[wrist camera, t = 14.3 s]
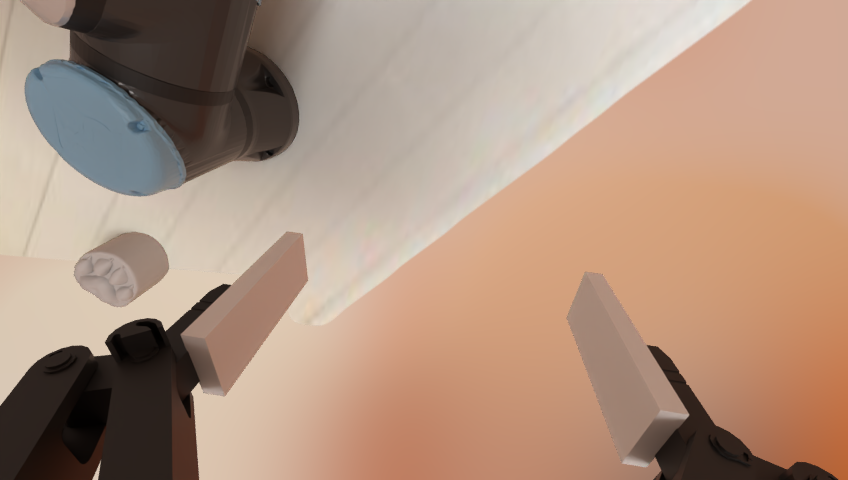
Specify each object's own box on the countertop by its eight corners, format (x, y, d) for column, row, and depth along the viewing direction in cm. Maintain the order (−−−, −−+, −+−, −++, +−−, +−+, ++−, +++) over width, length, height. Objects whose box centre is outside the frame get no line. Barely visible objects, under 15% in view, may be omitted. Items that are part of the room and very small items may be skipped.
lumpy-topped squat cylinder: (105, 256, 65) (58, 282, 58) (129, 219, 60) (80, 242, 52) (153, 289, 68) (114, 318, 61) (179, 257, 63) (140, 284, 56)
